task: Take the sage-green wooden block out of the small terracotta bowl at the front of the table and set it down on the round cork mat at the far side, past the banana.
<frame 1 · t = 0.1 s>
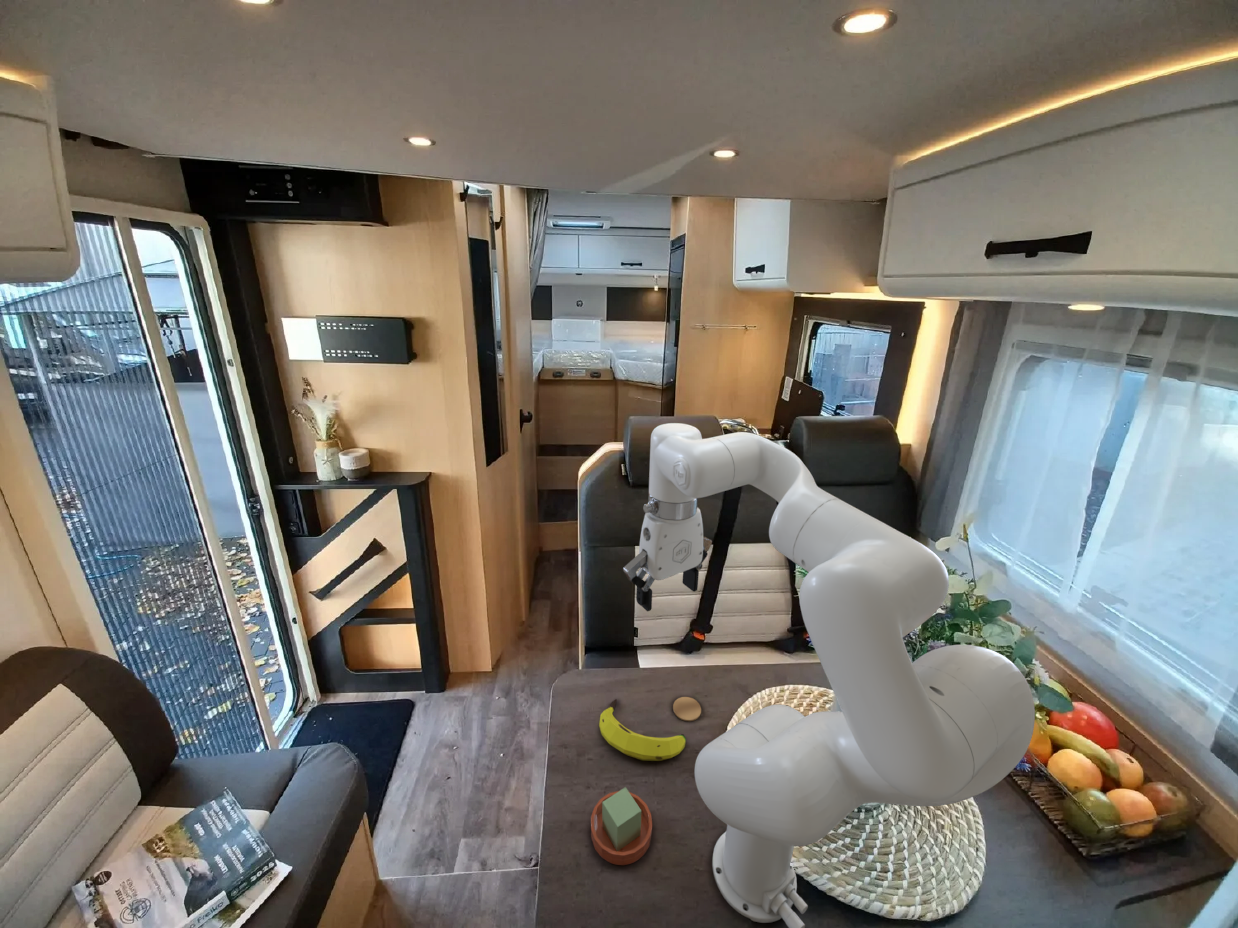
hand: (667, 596, 80), 37 cm above the table, tool pointing down, fingers open, 9 cm apart
block: (621, 830, 80), point 1 cm above the table, touching bowl
bowl: (621, 832, 80), on the table
mat: (686, 709, 103), on the table
banana: (641, 733, 98), on the table
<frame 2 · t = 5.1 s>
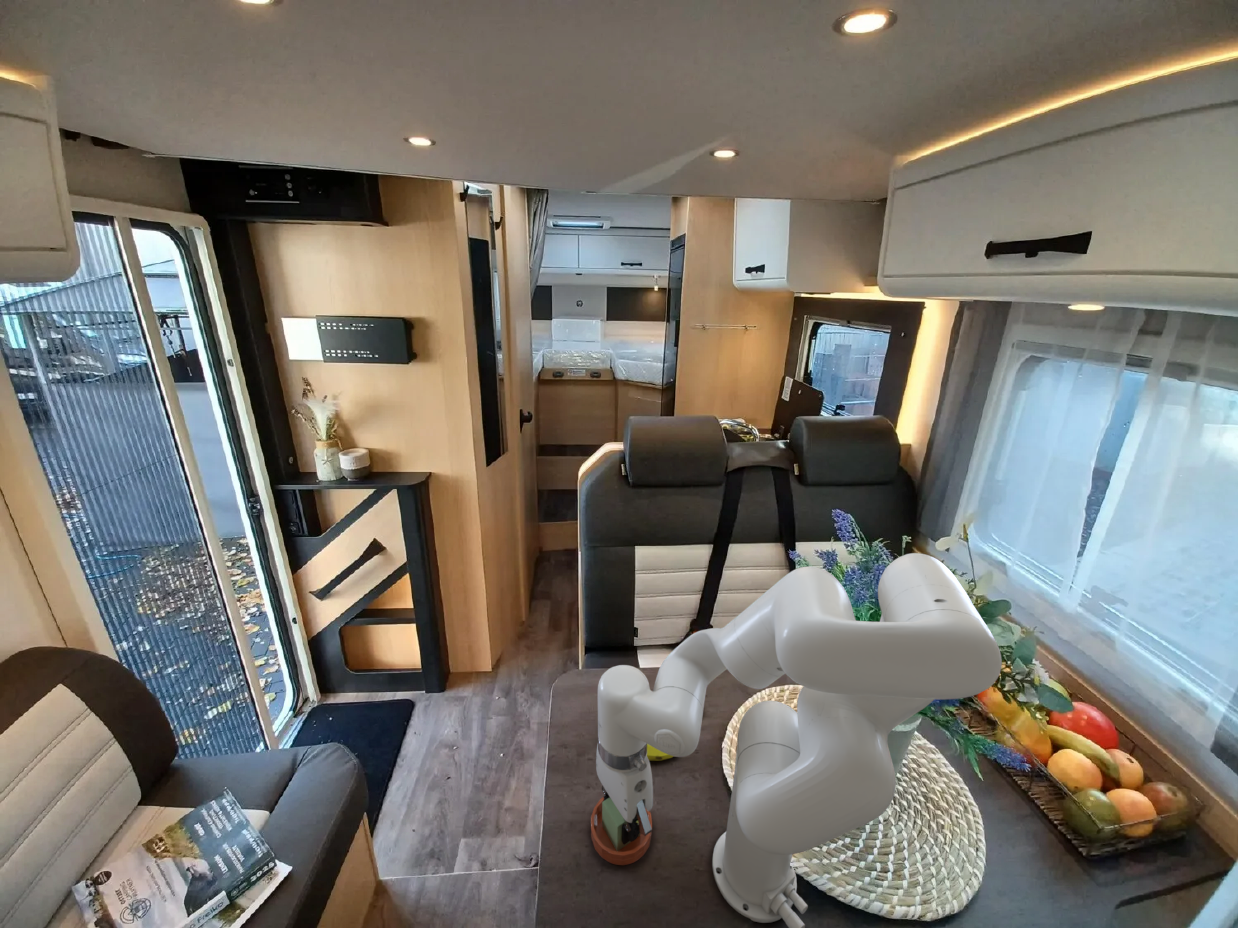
hand: (621, 822, 79), 3 cm above the table, tool pointing down, fingers closed on block, 4 cm apart
block: (621, 830, 80), point 1 cm above the table, touching bowl, gripper
everything else where it was.
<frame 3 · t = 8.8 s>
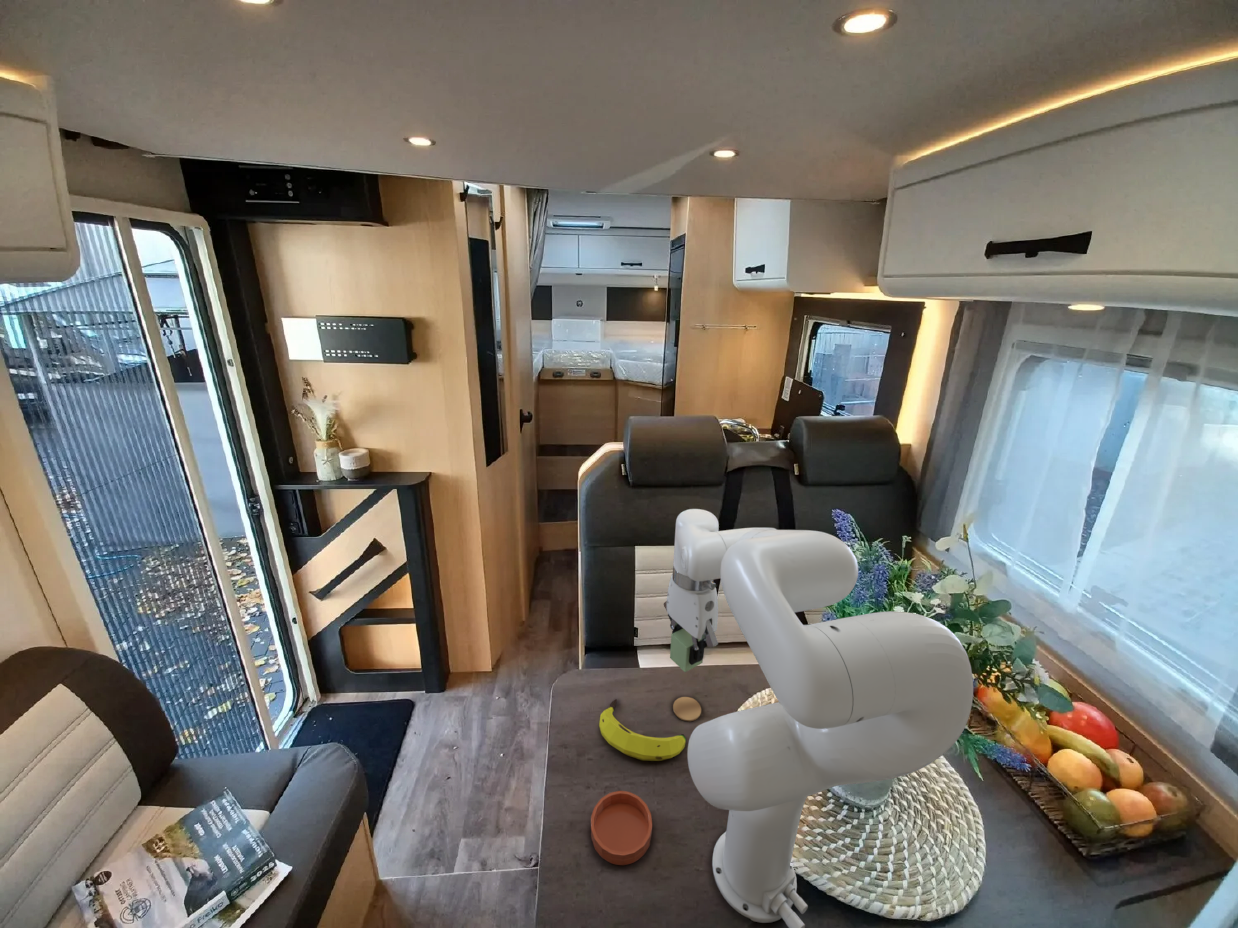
hand: (687, 651, 95), 17 cm above the table, tool pointing down, fingers closed on block, 4 cm apart
block: (686, 660, 96), point 15 cm above the table, touching gripper
everything else where it was.
when the fingers open (2 cm above the table, at t = 12.7 s): block stays where it is, resting on mat.
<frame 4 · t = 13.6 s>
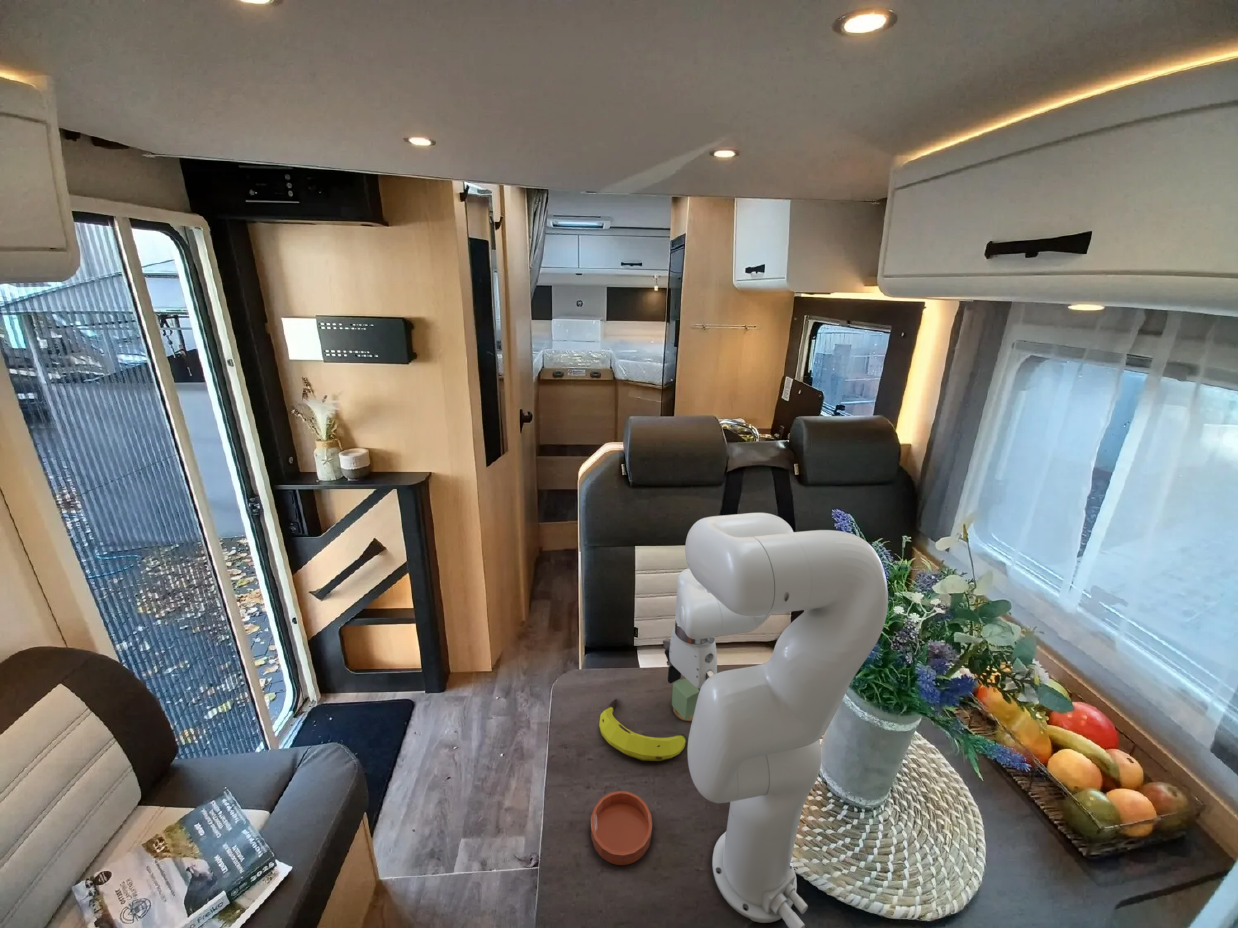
hand: (689, 694, 101), 5 cm above the table, tool pointing down, fingers open, 9 cm apart
block: (686, 707, 103), resting on mat
everything else where it was.
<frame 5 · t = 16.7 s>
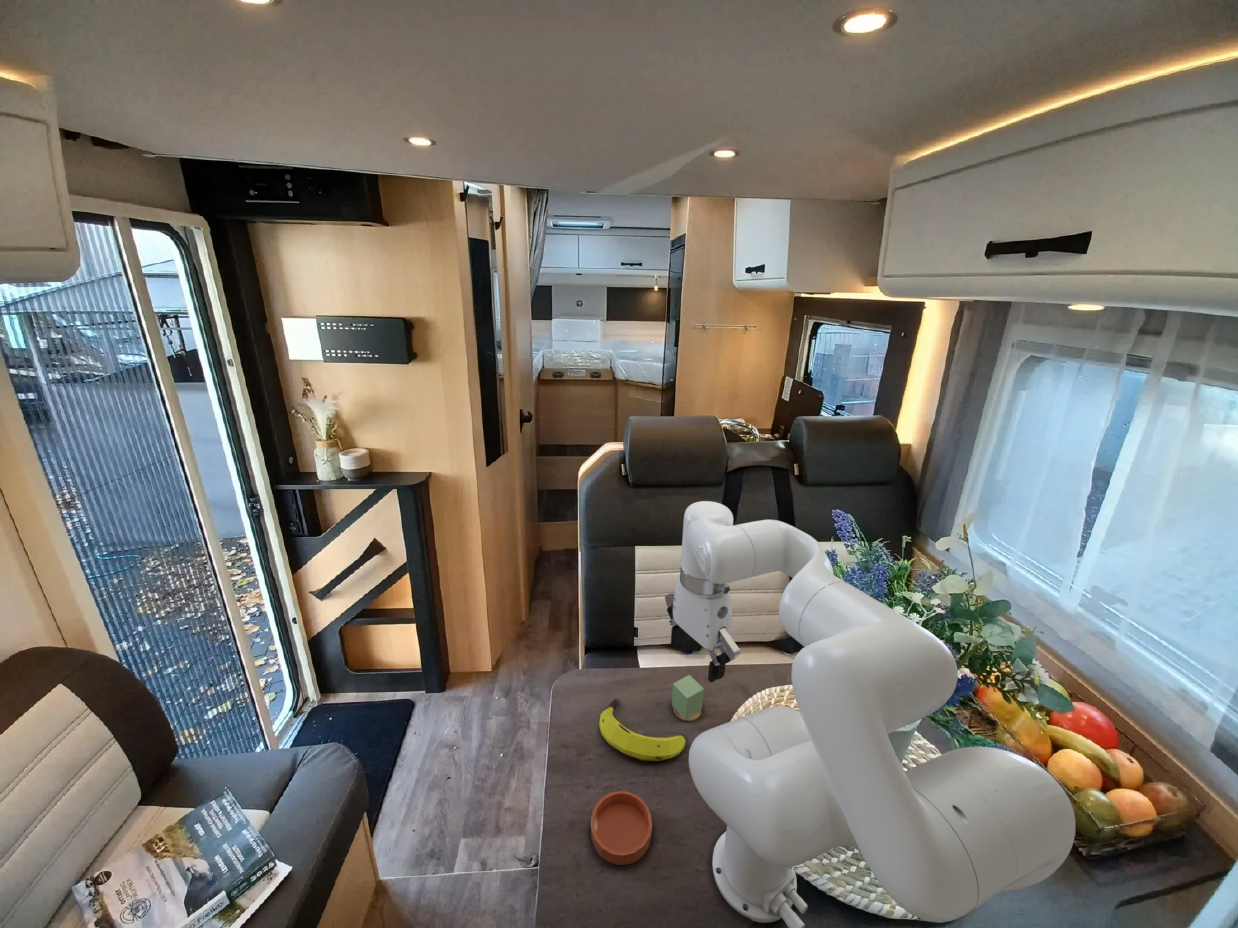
hand: (696, 660, 84), 24 cm above the table, tool pointing down, fingers open, 9 cm apart
nothing on the table moved.
at the end: block 0.1 cm off-centre on the mat, point 0.4 cm above the mat's base; block tilted 0°; block touching mat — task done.
